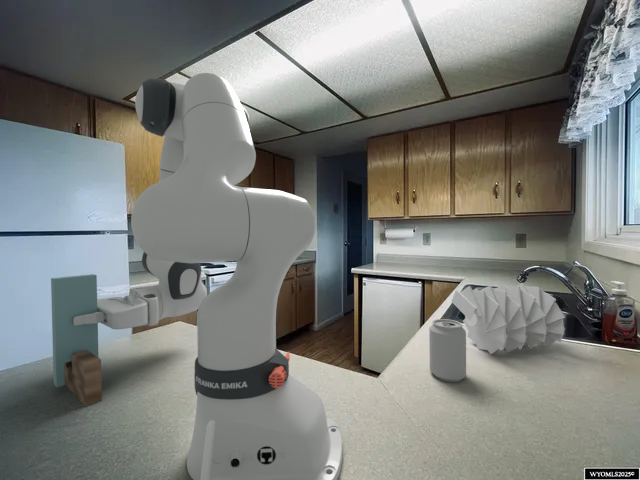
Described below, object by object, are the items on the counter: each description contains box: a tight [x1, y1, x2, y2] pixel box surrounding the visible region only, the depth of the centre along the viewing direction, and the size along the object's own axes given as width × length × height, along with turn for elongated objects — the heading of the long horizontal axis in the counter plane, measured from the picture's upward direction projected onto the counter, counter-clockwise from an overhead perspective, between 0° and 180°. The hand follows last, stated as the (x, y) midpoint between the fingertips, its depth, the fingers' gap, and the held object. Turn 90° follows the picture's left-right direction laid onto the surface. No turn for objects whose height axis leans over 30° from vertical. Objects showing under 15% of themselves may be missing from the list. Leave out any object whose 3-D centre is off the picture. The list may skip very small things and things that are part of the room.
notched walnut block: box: [64, 350, 103, 408], centre depth 59 cm, size 16×2×8 cm, turn 53°
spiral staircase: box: [450, 282, 566, 355], centre depth 79 cm, size 18×18×25 cm
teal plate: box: [50, 273, 100, 388], centre depth 61 cm, size 2×7×22 cm, turn 143°
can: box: [428, 318, 467, 383], centre depth 64 cm, size 8×8×12 cm
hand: (70, 319), depth 60 cm, fingers closed on teal plate, 2 cm apart
